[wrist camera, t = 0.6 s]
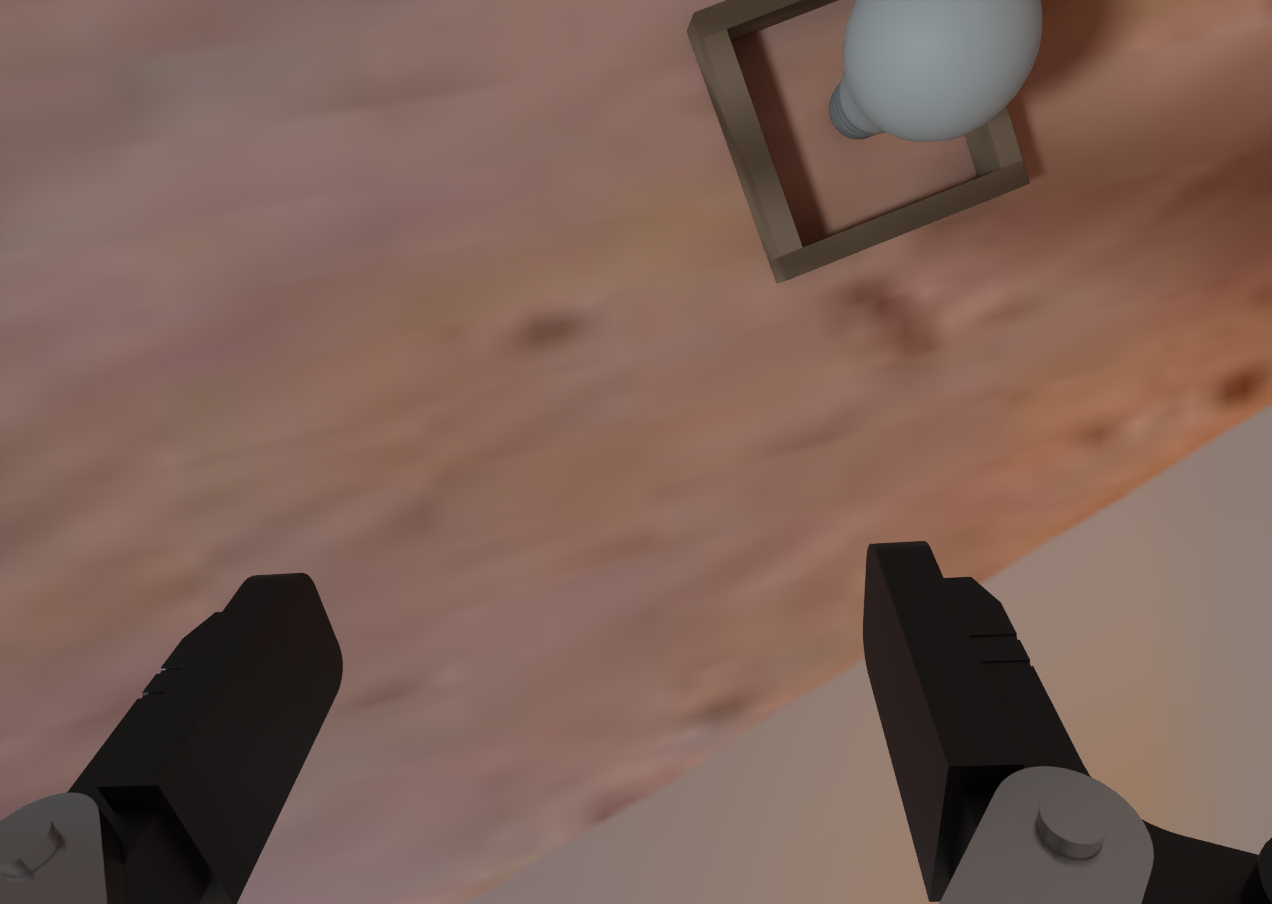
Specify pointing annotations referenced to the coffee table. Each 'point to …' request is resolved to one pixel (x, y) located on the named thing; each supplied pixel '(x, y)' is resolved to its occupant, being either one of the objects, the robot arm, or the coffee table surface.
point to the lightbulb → (933, 65)
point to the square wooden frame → (711, 31)
